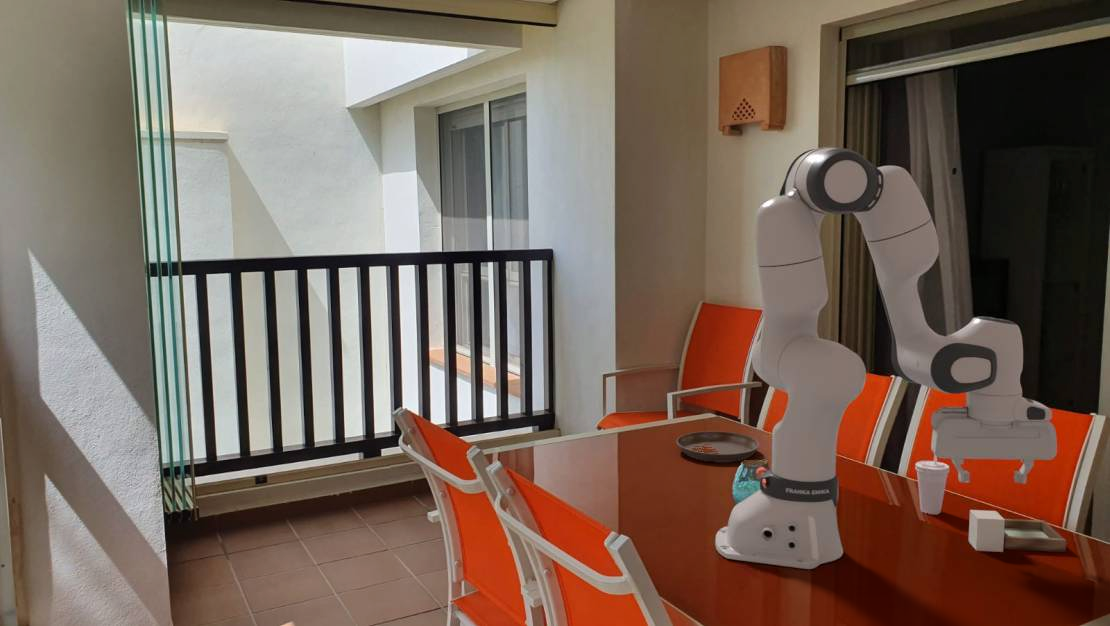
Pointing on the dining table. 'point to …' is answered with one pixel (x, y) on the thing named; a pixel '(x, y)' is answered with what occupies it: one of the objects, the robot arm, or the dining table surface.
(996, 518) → the cream block
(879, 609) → the dining table surface
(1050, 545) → the rest tray
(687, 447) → the plant saucer
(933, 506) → the smoothie
